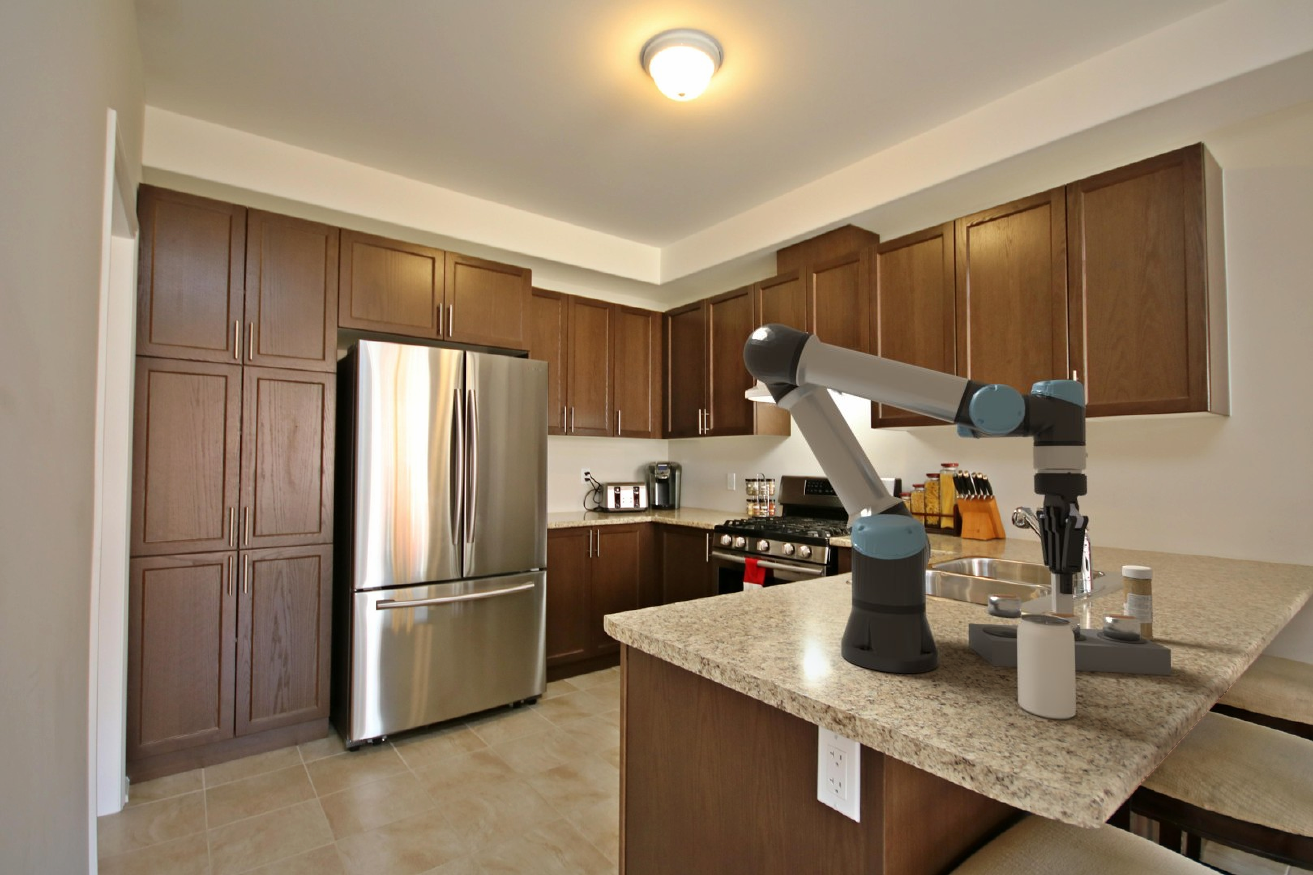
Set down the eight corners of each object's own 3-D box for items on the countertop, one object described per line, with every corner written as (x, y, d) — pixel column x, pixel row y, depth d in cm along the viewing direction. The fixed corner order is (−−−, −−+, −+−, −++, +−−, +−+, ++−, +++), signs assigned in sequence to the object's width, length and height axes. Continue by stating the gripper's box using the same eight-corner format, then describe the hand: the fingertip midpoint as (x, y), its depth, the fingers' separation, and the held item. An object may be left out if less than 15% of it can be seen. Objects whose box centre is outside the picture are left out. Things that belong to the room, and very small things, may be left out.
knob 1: (994, 617, 103) (994, 597, 103) (983, 610, 108) (983, 591, 108) (1026, 619, 102) (1026, 598, 102) (1014, 611, 107) (1013, 592, 107)
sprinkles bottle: (1127, 633, 120) (1125, 563, 121) (1156, 638, 117) (1155, 567, 117) (1120, 637, 117) (1118, 566, 118) (1150, 642, 114) (1148, 569, 114)
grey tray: (992, 665, 100) (992, 639, 100) (968, 645, 111) (968, 622, 111) (1171, 675, 96) (1170, 648, 96) (1128, 653, 107) (1128, 629, 107)
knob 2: (1113, 639, 100) (1113, 618, 100) (1096, 630, 105) (1096, 611, 105) (1147, 640, 99) (1147, 620, 100) (1128, 632, 104) (1128, 612, 105)
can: (1077, 724, 77) (1075, 628, 78) (1017, 713, 81) (1015, 620, 81) (1074, 707, 83) (1073, 617, 83) (1018, 697, 86) (1017, 610, 87)
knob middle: (1053, 636, 102) (1053, 616, 102) (1039, 628, 107) (1039, 609, 107) (1086, 638, 101) (1086, 618, 101) (1071, 630, 106) (1070, 610, 106)
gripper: (1105, 472, 98) (1109, 623, 97) (1064, 471, 111) (1067, 604, 110) (1054, 472, 99) (1057, 621, 98) (1019, 471, 112) (1021, 602, 111)
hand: (1062, 612), depth 104 cm, fingers closed
